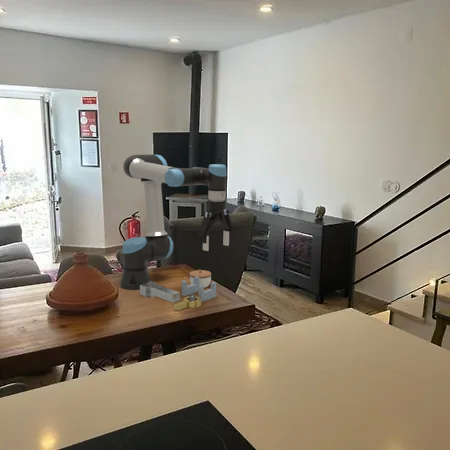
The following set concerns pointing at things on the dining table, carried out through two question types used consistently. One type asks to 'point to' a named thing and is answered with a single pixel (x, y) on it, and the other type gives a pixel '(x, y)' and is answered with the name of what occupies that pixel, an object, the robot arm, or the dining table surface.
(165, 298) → the white t-shaped plate
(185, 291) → the rack
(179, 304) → the gold box wrench
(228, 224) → the robot arm
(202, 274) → the lidded jar
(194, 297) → the nut base
